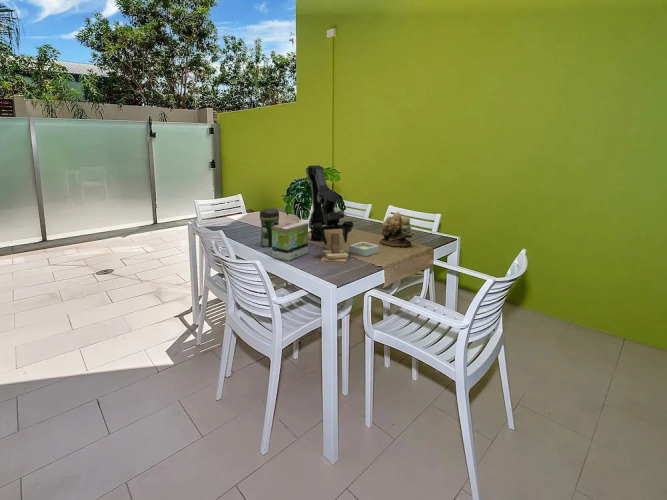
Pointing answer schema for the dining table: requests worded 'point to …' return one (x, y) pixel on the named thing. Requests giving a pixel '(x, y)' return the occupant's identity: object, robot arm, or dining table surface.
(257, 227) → the dining table surface
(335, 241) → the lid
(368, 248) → the pale green square dish
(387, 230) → the brown lumpy sculpture
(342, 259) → the tile
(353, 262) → the dining table surface
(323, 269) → the dining table surface
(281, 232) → the tea box
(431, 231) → the dining table surface
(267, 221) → the coffee jar
